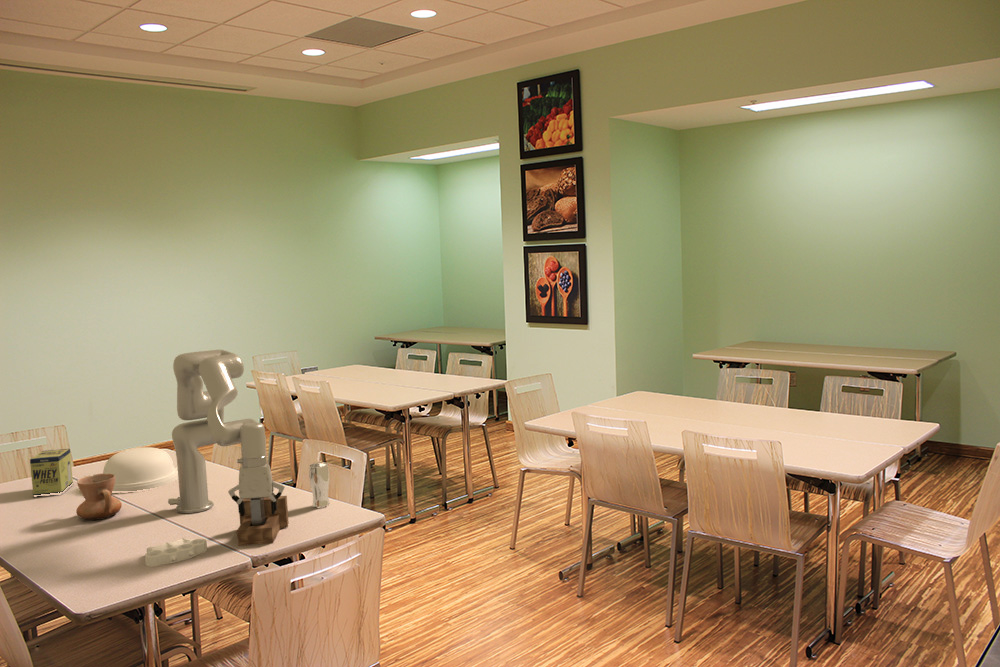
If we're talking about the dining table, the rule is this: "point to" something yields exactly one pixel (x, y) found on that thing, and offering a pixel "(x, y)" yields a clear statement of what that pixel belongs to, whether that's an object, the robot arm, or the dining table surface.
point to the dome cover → (141, 469)
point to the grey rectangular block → (257, 511)
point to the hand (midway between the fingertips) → (258, 514)
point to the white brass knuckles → (174, 551)
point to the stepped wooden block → (269, 529)
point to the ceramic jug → (98, 497)
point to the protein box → (51, 471)
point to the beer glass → (319, 483)
